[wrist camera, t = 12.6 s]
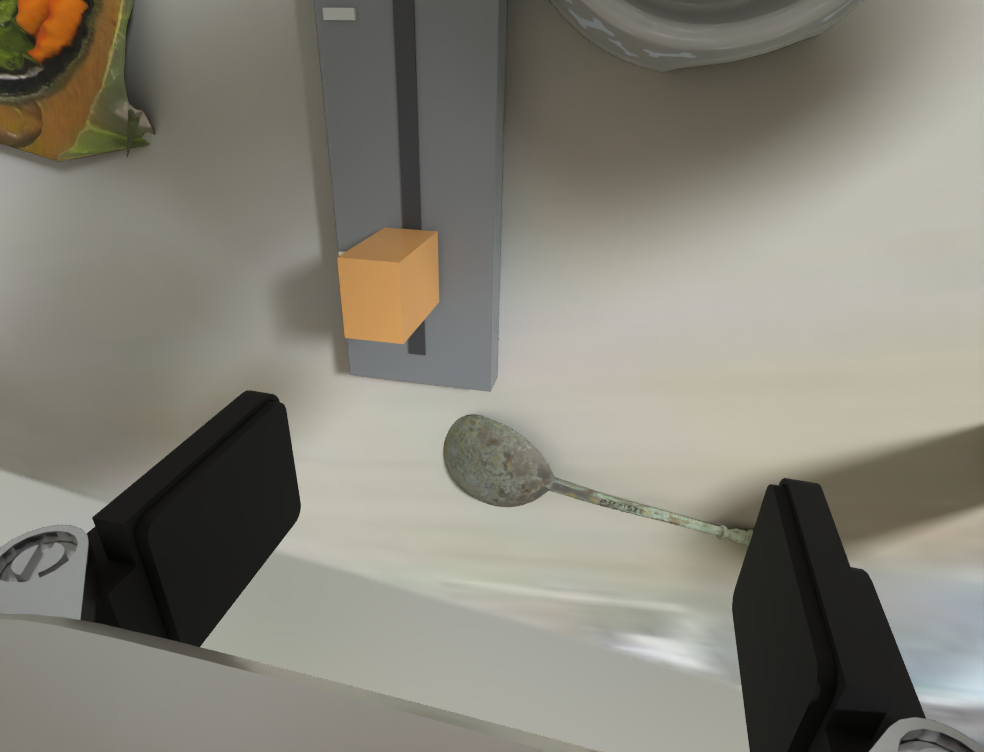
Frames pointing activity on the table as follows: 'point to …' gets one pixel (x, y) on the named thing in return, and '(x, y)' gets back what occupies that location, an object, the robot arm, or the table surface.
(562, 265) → the table surface
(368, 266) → the fader knob
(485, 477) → the soupspoon
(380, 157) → the fader console
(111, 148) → the prepared meal
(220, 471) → the robot arm
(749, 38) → the dog bowl
